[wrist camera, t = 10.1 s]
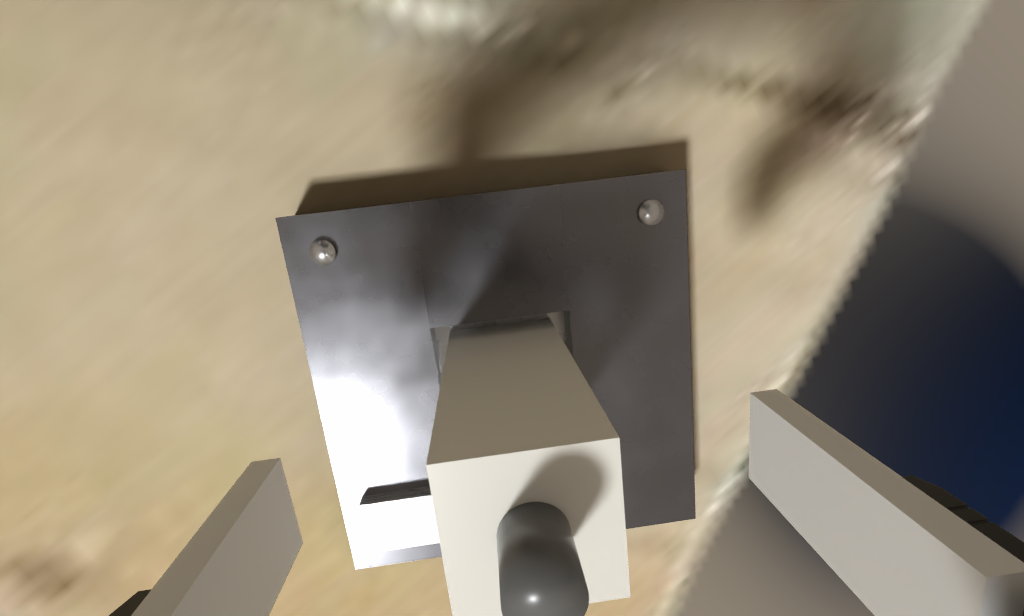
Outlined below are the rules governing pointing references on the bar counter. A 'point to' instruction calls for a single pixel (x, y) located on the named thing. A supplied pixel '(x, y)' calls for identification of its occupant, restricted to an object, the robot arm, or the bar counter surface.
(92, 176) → the bar counter surface
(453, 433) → the plug
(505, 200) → the socket
